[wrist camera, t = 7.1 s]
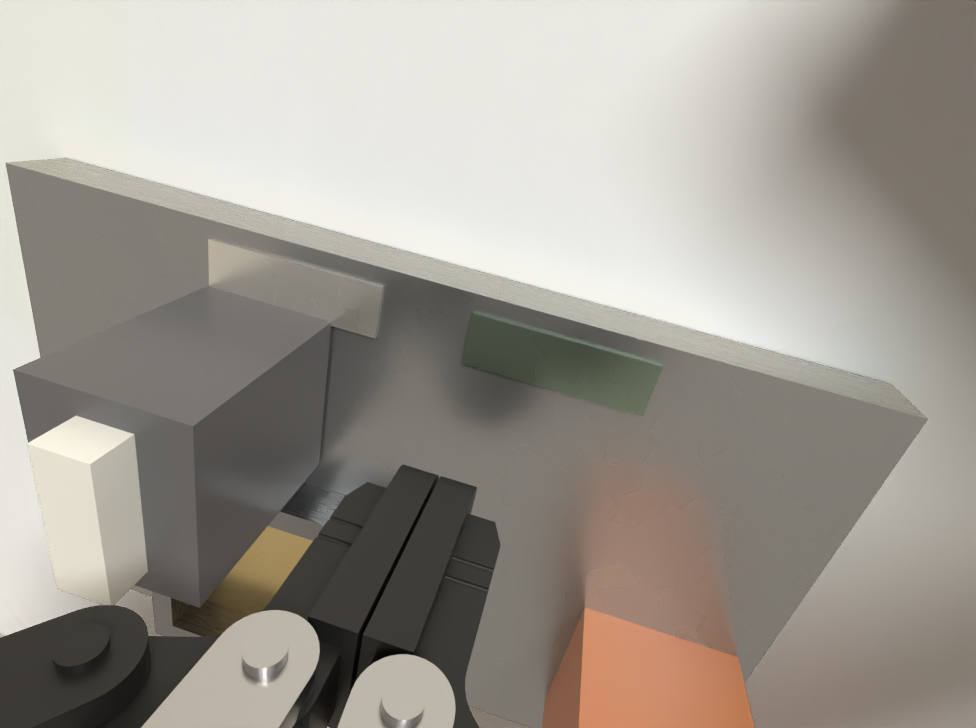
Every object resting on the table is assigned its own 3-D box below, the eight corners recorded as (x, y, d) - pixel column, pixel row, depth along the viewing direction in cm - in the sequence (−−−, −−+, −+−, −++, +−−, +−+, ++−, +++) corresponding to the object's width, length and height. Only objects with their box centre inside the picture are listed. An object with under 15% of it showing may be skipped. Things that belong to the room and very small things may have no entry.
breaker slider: (331, 322, 12) (152, 457, 7) (318, 464, 14) (167, 646, 9) (207, 285, 12) (-43, 394, 8) (210, 430, 14) (9, 590, 9)
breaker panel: (891, 384, 12) (964, 454, 9) (672, 728, 18) (682, 825, 15) (65, 157, 13) (-53, 168, 11) (115, 539, 19) (45, 599, 17)
